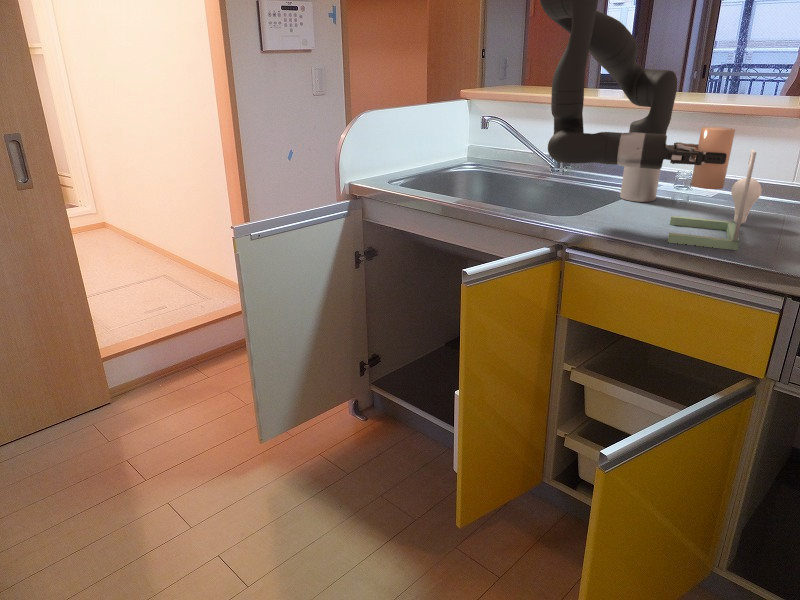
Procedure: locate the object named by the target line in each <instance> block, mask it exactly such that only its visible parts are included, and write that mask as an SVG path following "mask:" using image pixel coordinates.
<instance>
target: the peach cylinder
mask: <svg viewBox="0 0 800 600" xmlns="http://www.w3.org/2000/svg"><path fill="white" fill-rule="evenodd" d="M735 133H736V129H735V128H732V127H731V128H730V127H723V126H703V127H701V129H700V133H699V134H700V135H699V139H698V149H697V150H699V151H706V152H718V153H726V155H727V157H726V162H725V163H724V164H712V163H705V164H701V165H694V166H693V171H692V175H691V176H692V177H691V183H690V186H692V187H695V188H699V189H705V190H721V189H724V187H725V181H726V176H727V172H728V171H727V170H728V166H729V162H730V156H731V153H732V147H733V143H734V139H735ZM696 156H697V155H696Z"/></svg>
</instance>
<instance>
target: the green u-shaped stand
mask: <svg viewBox="0 0 800 600" xmlns="http://www.w3.org/2000/svg"><path fill="white" fill-rule="evenodd" d="M756 156H757V152H756V151H755V150H754V148H751V150H750V155H749V161H748V167H747V173H746V177H745V178H746V182H745V187H744V191H743V196H742V201H741V205H740V210H739V215H738V219H737V223H736V222H735V221H730V220H722V219H721V220H719V219H709V218H699V217H689V216H688V217H687V216H681V215H680V216H678V215H671V216H670V221H669V222H670V223H669V225H671V226H680V227H688V228H689V227H690V228H699V229H711V230H719V231H720V230H721V231H726V236H727V238H724V237H723V238H722V237H713V236H705V235H695V234H687V233H685V234H684V233H676V232H668V235H667V243H668V242H669V243H670V244H677V243H678V245H685V244H687V246H694V245H696V246H697V247H703V246H704V247H705V248H712V247H713V248H714V249H715V248H716V249H722V250H730V251H731V250H732V251H738V250H739V247H740V246H739V245H740V239H739V234H740V229H741V227H742V226H741V225H742V224H741V221H742V217H743V212H744V208H745V203H746V198H747V194H748V189H749V185H750V180H751V178H752V175H753V170H754V166H755V160H756V158H757V157H756ZM696 246H695V247H696Z"/></svg>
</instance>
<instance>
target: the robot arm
mask: <svg viewBox="0 0 800 600" xmlns="http://www.w3.org/2000/svg"><path fill="white" fill-rule="evenodd" d="M539 3H540V6H541V8H542V10H543V11H544V13H545V14H546V16H548V18H550V19H551V20H552V21H553V22H555V23H556V24H557V25H559V26H560V27H561V28H562V29H564V30H565V31H566V32H568V33H569V34H570V35H569V38H568V42H567V44H566V47H565V50H564V52H563V54H562V56H561V57H560V59H559V61H558V64H557V66H556V68H555V70H554V73H553V77H552V81H551V105H550V107H551V108H550V109H551V110H550V111H551V114H552V117H553V135H551V137H550V139H549V141H548V142H547V143H548V144H547V152H548V155H549V156H550V158H551V159H552V160H554V161H555V162H558V163H562V164H593V163H594V164H602V165H615V166H622V167H624V168H623V173H622V182H621V188H620V196H619V197H620V198H621V199H623V200H624V201H625V200H627V201H630V202H639V203H641V202H642V203H648V202H654V201H655V200H656V198H657V195H658V194H657V193H658V187H659V181H660V175H661V169H662V168H663V163H664V161H665V160H667V161H669V163H670V164H672V165H677V164H679V165H690V166H691V165H692V166H693V165H701V164H705V163H712V164H724V163H725V162H726V157H727V155H726V153H718V152H706V151H699V150H697V149H698V144H699V143H698V144H697V143H696V144H695V143H684V142H674V143H673V144H669V145H668V144H667V138H668V136H667V132H668V131H667V130H668V127H669V125H670V123H671V121H672V120H671V119H672V116H673V114H672V113H673V110H674V106H675V105H674V104H675V101H676V97H677V91H678V77H677V74H676V73H675V71H673V70H670V69H652V68H649V69H648V68H644V67H642V66H641V65H640V64H639V63H638V62H637V61H636V59H637V56H638V55H637V54H638V43H637V40H636V38H635V37H634V36H633V34H632V33H631V32H630V30H629V29H628V28H627V26H625V25H624V24H623V22H621V21H620V20H618V19H616V18H615V17H612V16H611V15H608V14H606V13H603V12H602V11H598V6H599V5H598V4H599V0H539ZM589 54H590V55H591V57H593V59H594V60H595V61H596V62H597V63H598V64H599V66H601V67H602V68H603V69H604V70H605V71H606V72H607V73H608V74H609V75H610V76H611V77H612V79H614V80H615V82H616V83H617V85H618V86H619V87H620V88H621V90H622V92H623V94H624V95H625V96H626V97H627V99H628V100H629V102H630V103H632V104H633V105H635V106H638V107H642V108H643V107H646V108H650V109H649V113H648V114H647V116H645V117H643V118H641V119H639V120H638V119H637V120H634V121H632V122H631V123H630V126H629V130H628V132H618V131H617V132H614V131H600V132H596V133H595V132H594V133H588V132H584V117H583V115H584V114H583V110H584V99H585V79H586V69H587V62H588V56H589ZM696 155H697V156H696Z"/></svg>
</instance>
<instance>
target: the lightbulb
mask: <svg viewBox="0 0 800 600" xmlns="http://www.w3.org/2000/svg"><path fill="white" fill-rule="evenodd" d="M745 182H746V177H743V178H740V179H738V180H737V181H736V182H735V183H733V185H732V187H731V191H730V192H731V197H732V201H733V203H734V218H733V222H735V224H737V219H738V215H739V210H740V205H741V201H742V196H743V191H744V187H745ZM761 195H762V186H761V184H760V182H759V181H758V180H757V179H755V178H753V177H751V180H750V185H749V189H748V194H747V198H746V203H745V208H744V212H743V217H742V221H741V225H743V224H745V223H746V222H747V219H748V215H749V214H750V212H751V209H752V207H753V205H754V204H755V202H757V201H758V200H759V198H760V197H761Z"/></svg>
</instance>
